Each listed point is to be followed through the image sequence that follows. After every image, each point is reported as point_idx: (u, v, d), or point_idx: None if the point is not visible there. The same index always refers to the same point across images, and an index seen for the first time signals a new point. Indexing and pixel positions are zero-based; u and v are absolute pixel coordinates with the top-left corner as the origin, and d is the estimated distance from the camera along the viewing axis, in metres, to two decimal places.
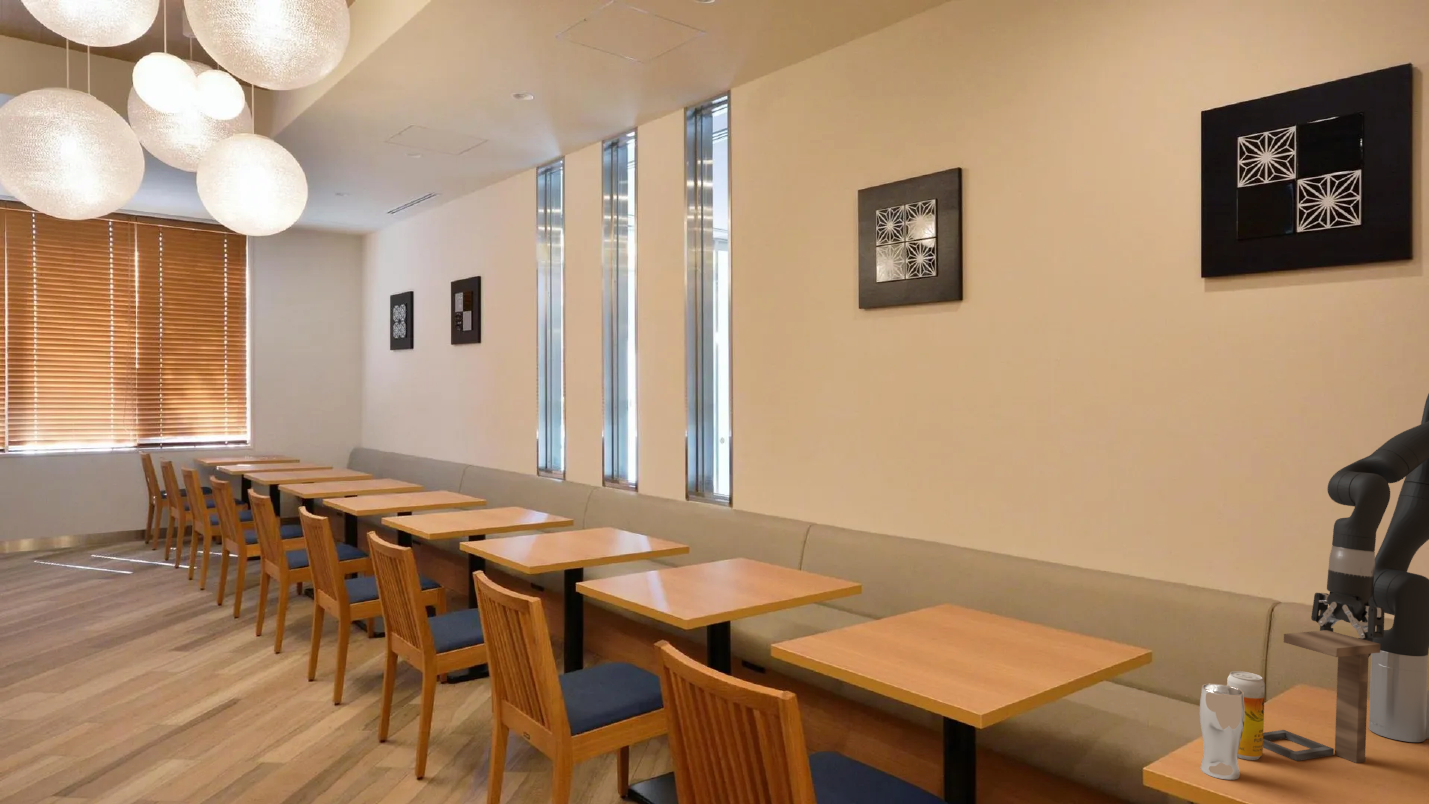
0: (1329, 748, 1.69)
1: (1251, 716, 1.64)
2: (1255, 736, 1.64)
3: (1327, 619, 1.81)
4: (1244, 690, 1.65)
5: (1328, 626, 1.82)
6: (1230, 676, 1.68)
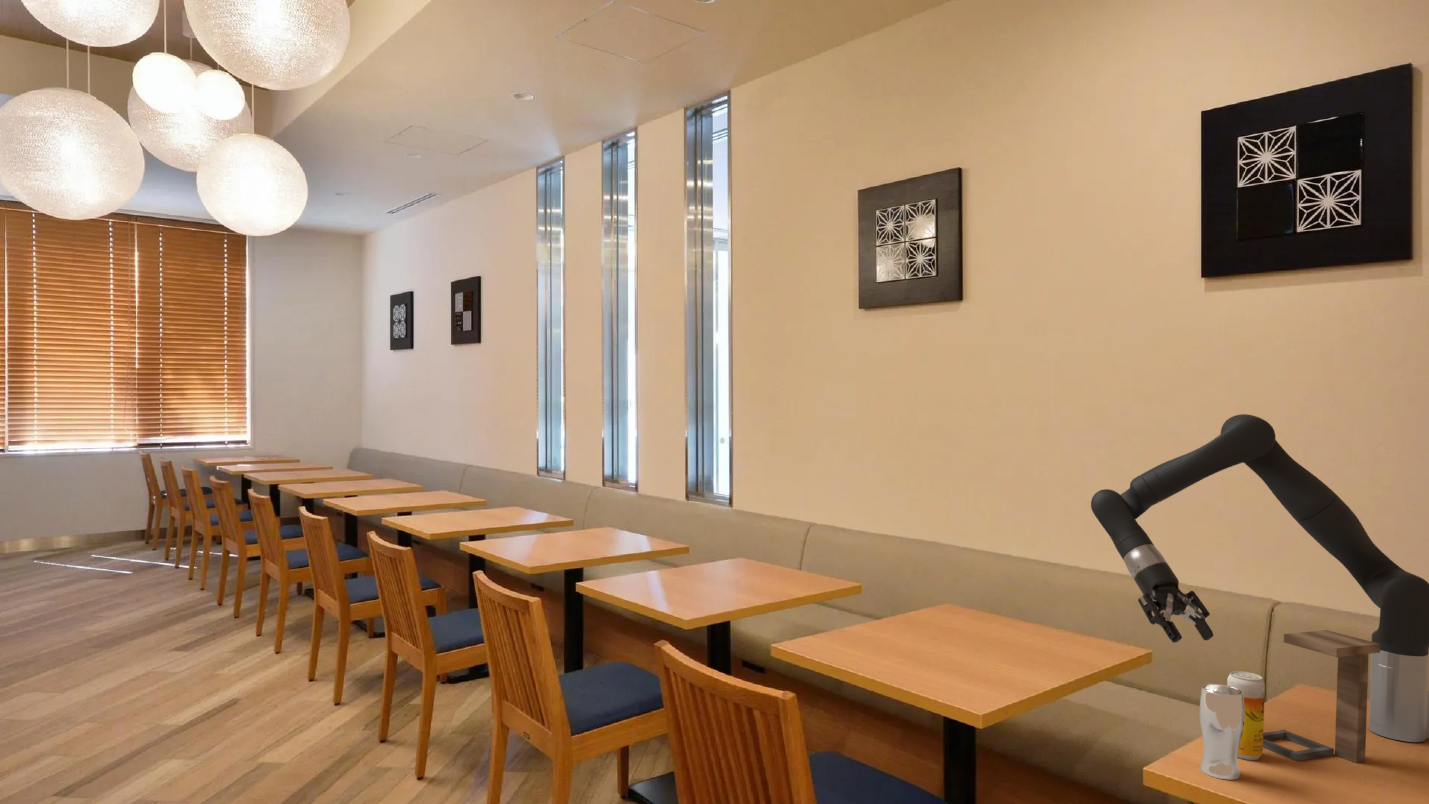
0: (1329, 748, 1.69)
1: (1251, 716, 1.64)
2: (1255, 736, 1.64)
3: (1185, 617, 1.84)
4: (1244, 690, 1.65)
5: (1198, 621, 1.82)
6: (1230, 676, 1.68)
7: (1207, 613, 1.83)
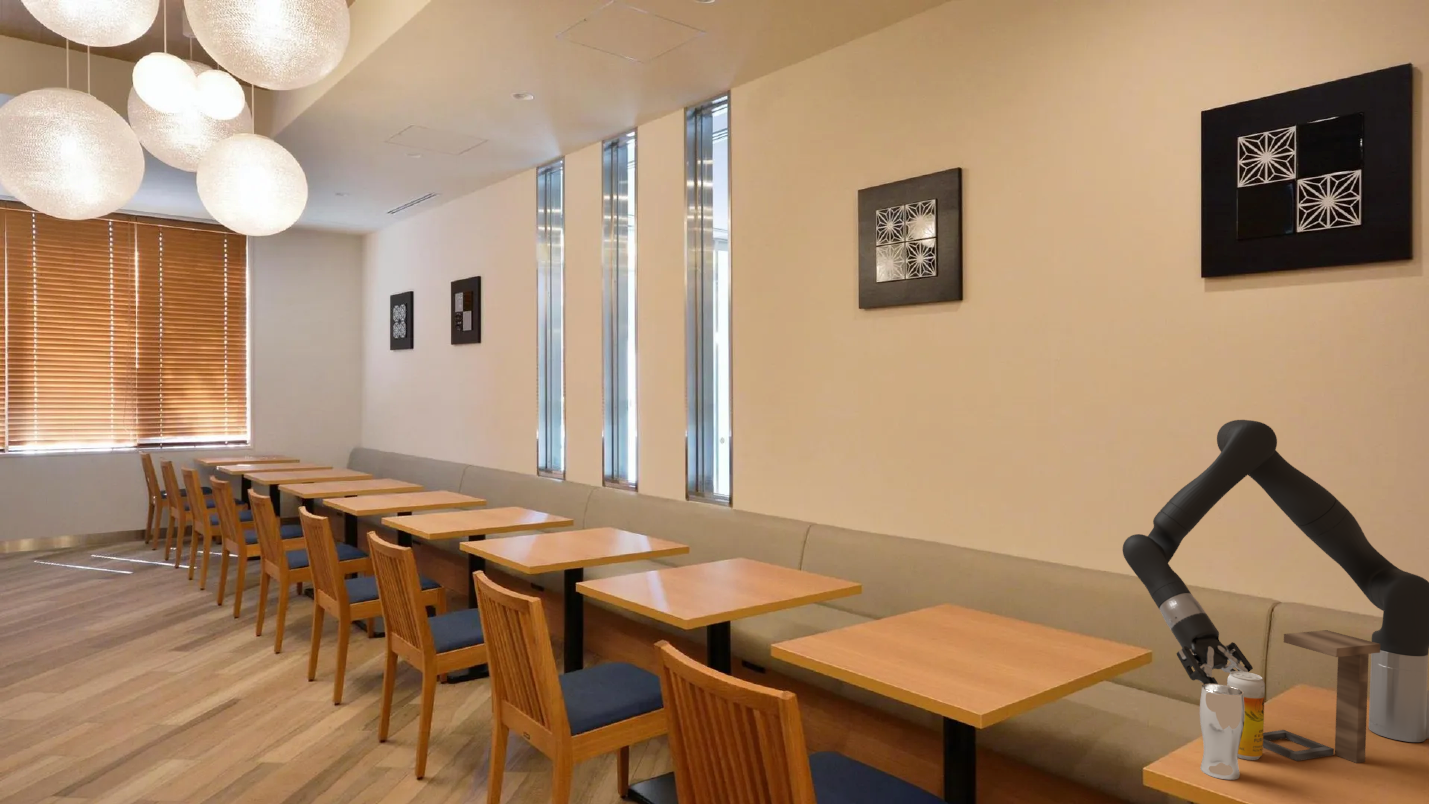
0: (1329, 748, 1.69)
1: (1251, 716, 1.64)
2: (1255, 736, 1.64)
3: (1227, 671, 1.74)
4: (1244, 690, 1.65)
5: None
6: (1230, 676, 1.68)
7: (1250, 667, 1.73)
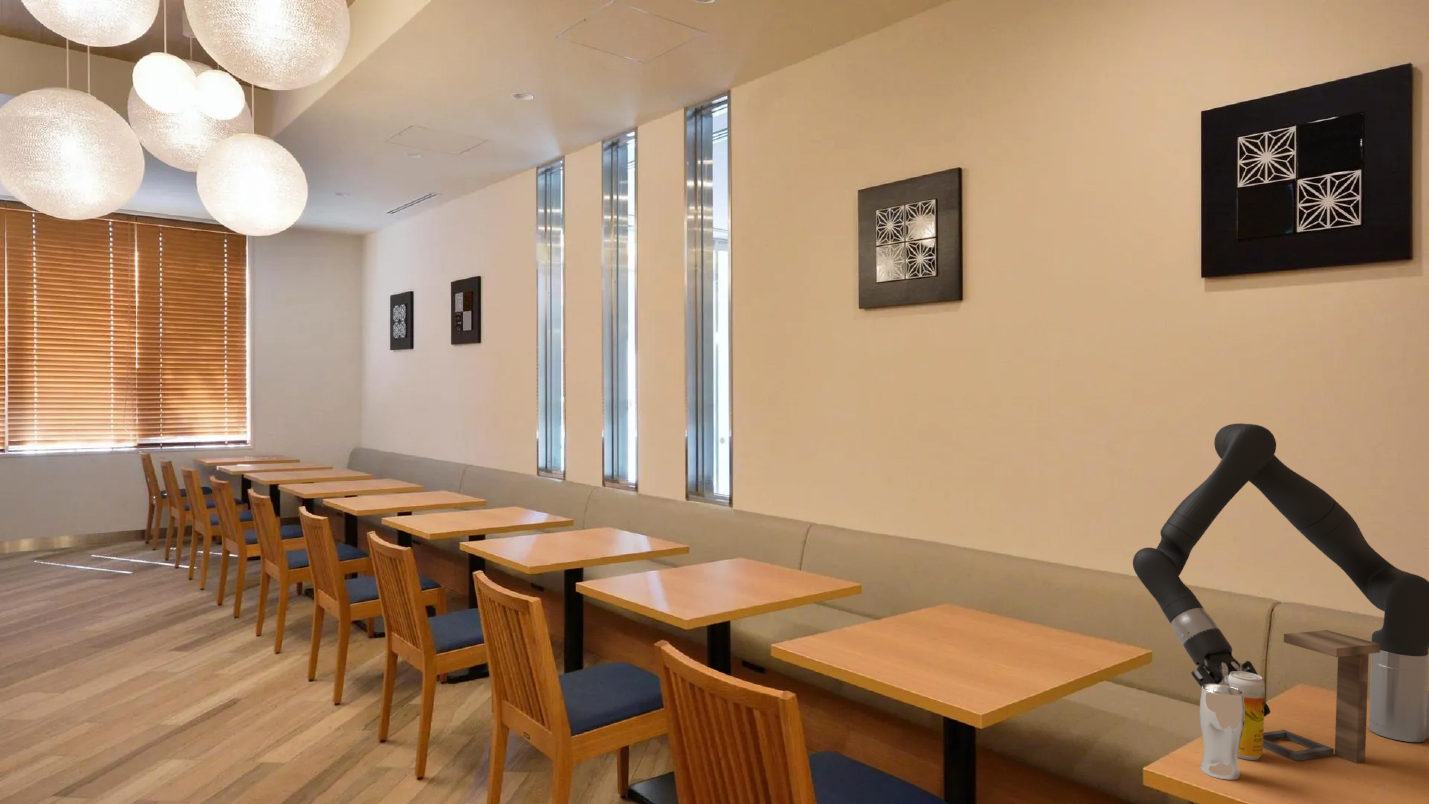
0: (1329, 748, 1.69)
1: (1251, 716, 1.64)
2: (1255, 736, 1.64)
3: None
4: (1244, 690, 1.65)
5: None
6: (1230, 676, 1.68)
7: None
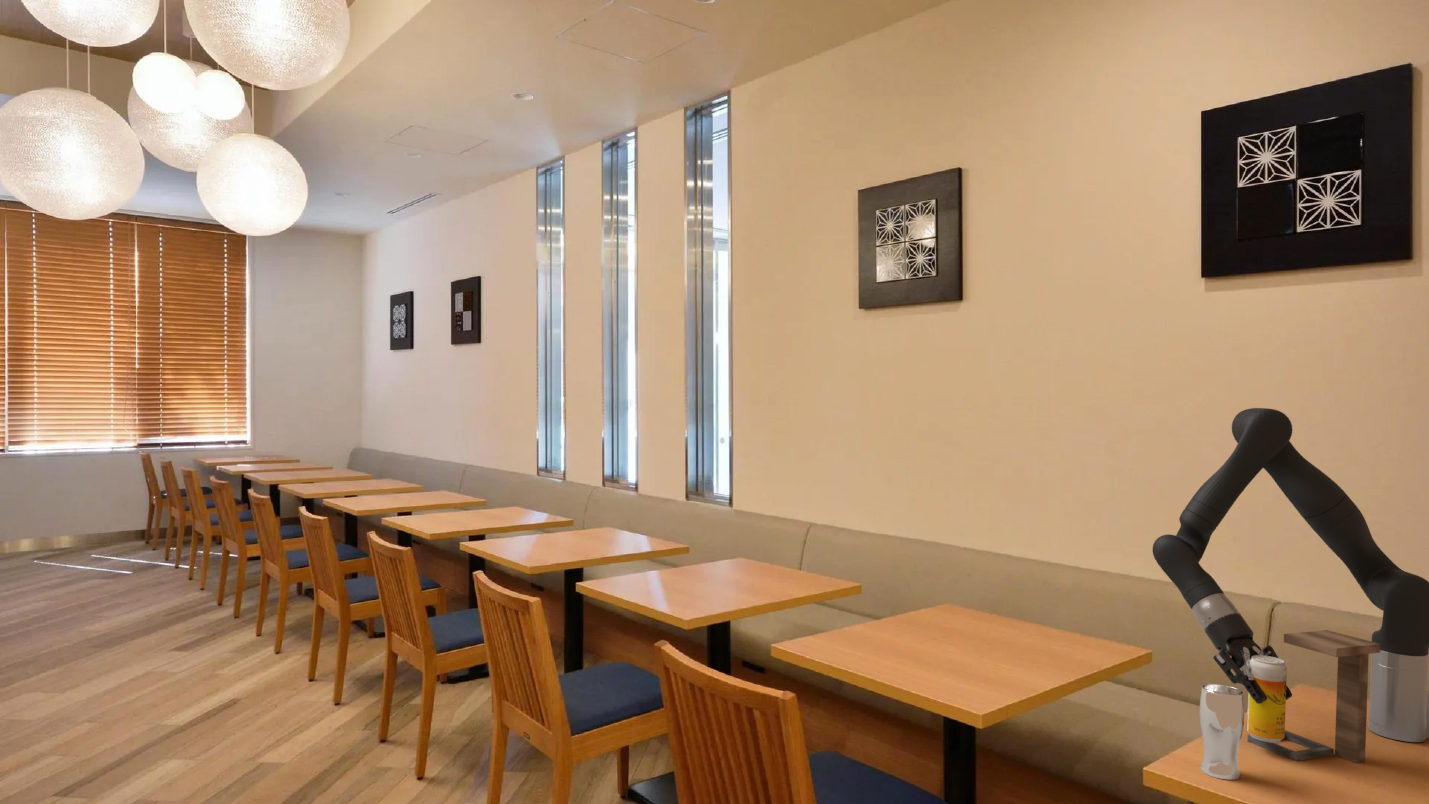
0: (1329, 748, 1.69)
1: (1273, 699, 1.66)
2: (1278, 719, 1.66)
3: None
4: (1266, 674, 1.66)
5: None
6: (1252, 660, 1.70)
7: None
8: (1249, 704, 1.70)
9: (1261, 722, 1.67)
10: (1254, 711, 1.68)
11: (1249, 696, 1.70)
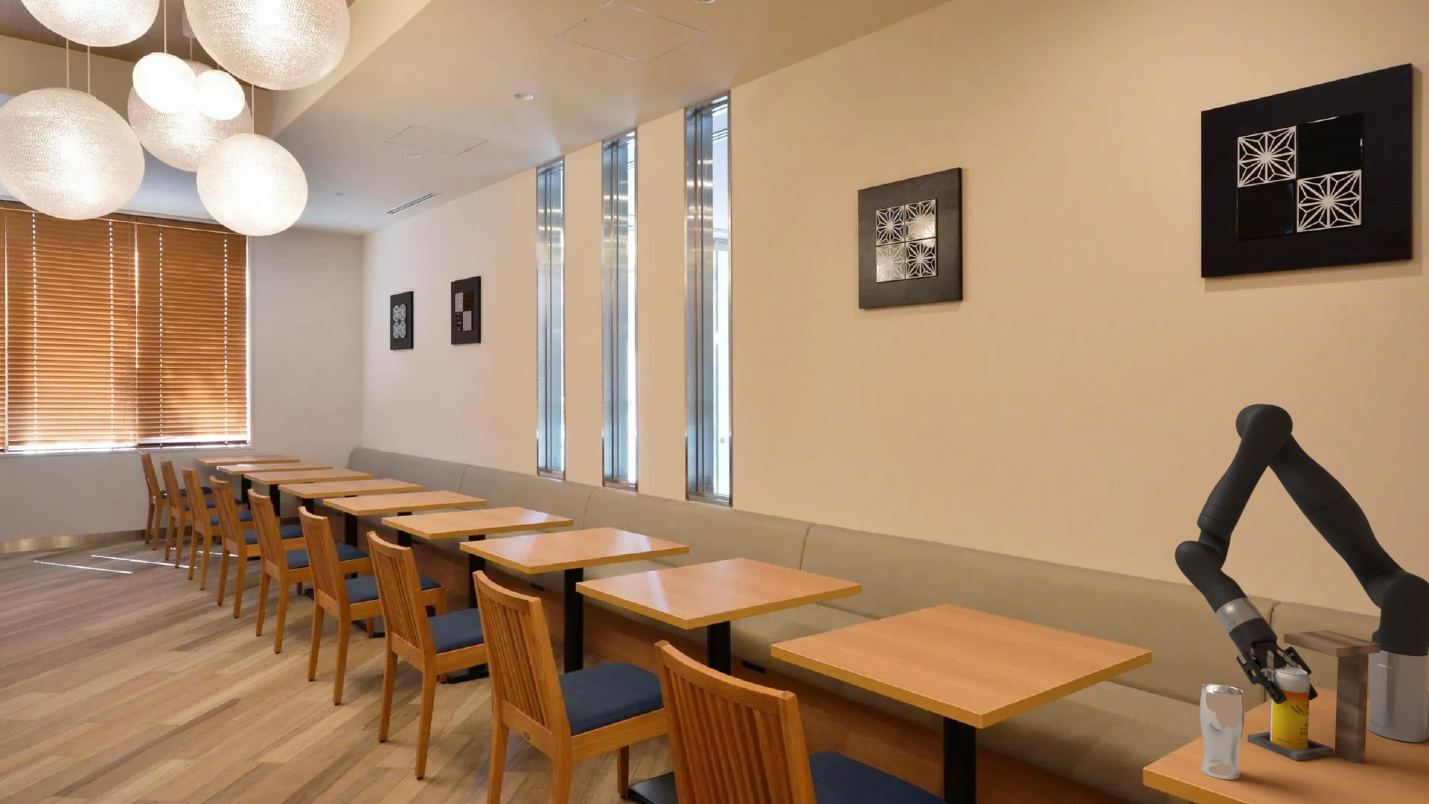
0: (1329, 748, 1.69)
1: (1297, 710, 1.69)
2: (1301, 730, 1.69)
3: None
4: (1290, 684, 1.69)
5: None
6: (1275, 671, 1.72)
7: (1309, 671, 1.75)
8: (1272, 714, 1.72)
9: (1285, 732, 1.69)
10: (1278, 721, 1.71)
11: (1272, 706, 1.72)
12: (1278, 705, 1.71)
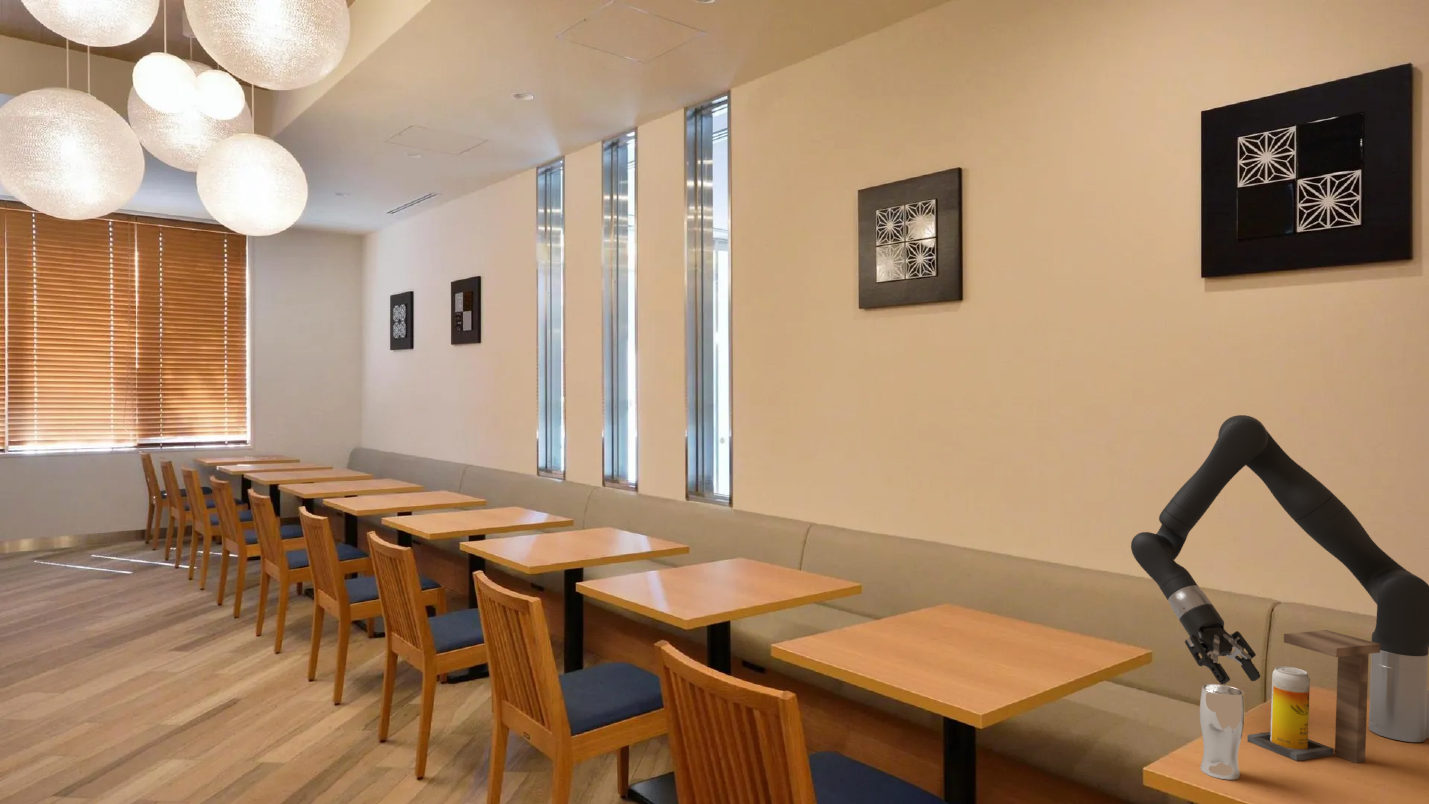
0: (1329, 748, 1.69)
1: (1297, 710, 1.69)
2: (1301, 730, 1.69)
3: (1231, 658, 1.87)
4: (1290, 684, 1.69)
5: (1244, 662, 1.85)
6: (1275, 671, 1.72)
7: (1253, 654, 1.86)
8: (1272, 714, 1.72)
9: (1285, 732, 1.69)
10: (1278, 721, 1.71)
11: (1272, 706, 1.72)
12: (1278, 705, 1.71)
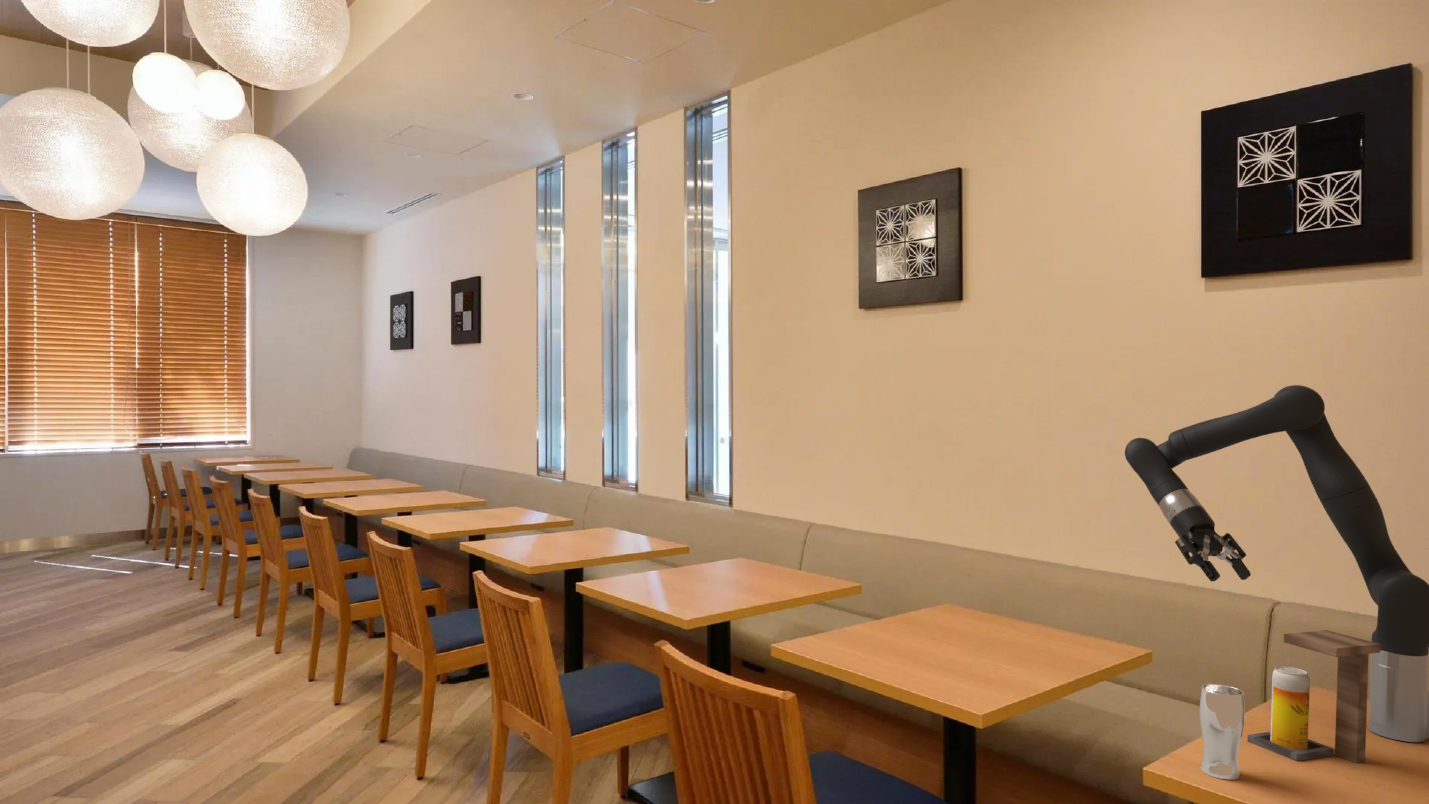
0: (1329, 748, 1.69)
1: (1297, 710, 1.69)
2: (1301, 730, 1.69)
3: (1222, 559, 1.87)
4: (1290, 684, 1.69)
5: (1234, 561, 1.85)
6: (1275, 671, 1.72)
7: (1243, 554, 1.86)
8: (1272, 714, 1.72)
9: (1285, 732, 1.69)
10: (1278, 721, 1.71)
11: (1272, 706, 1.72)
12: (1278, 705, 1.71)
